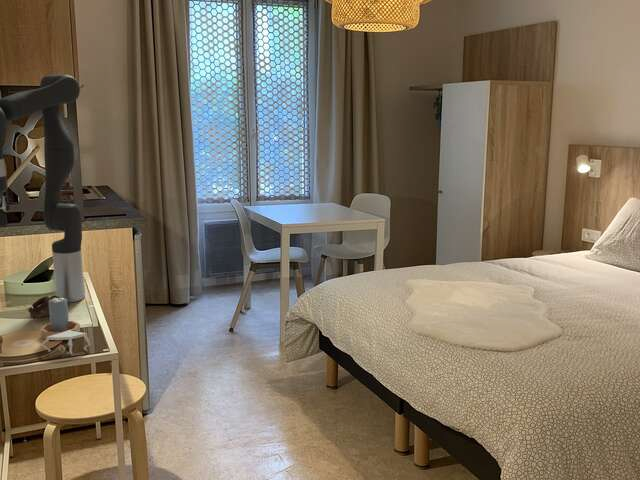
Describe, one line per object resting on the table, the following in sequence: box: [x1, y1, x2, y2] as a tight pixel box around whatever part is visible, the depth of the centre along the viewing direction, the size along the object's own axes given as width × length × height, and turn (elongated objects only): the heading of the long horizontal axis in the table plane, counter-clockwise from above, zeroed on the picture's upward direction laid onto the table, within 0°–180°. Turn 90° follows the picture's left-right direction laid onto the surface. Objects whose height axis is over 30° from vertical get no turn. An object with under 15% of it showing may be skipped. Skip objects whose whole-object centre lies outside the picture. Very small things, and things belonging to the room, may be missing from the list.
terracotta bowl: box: [40, 320, 81, 340], centre depth 192 cm, size 10×10×2 cm
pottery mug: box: [27, 295, 59, 319], centre depth 206 cm, size 12×10×8 cm
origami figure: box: [40, 330, 91, 355], centre depth 181 cm, size 12×8×5 cm
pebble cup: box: [48, 298, 70, 332], centre depth 191 cm, size 5×5×11 cm
